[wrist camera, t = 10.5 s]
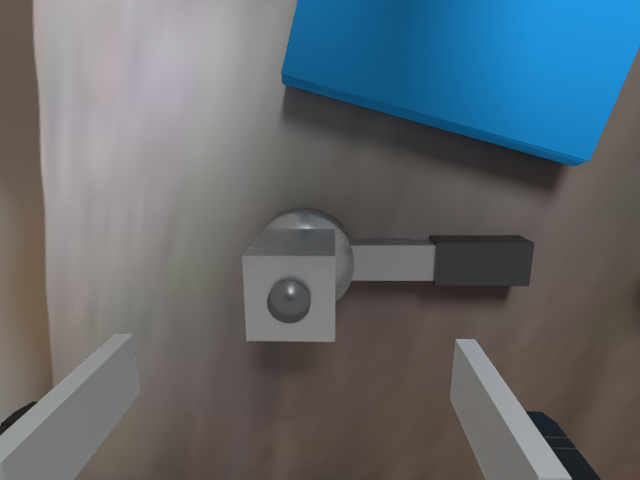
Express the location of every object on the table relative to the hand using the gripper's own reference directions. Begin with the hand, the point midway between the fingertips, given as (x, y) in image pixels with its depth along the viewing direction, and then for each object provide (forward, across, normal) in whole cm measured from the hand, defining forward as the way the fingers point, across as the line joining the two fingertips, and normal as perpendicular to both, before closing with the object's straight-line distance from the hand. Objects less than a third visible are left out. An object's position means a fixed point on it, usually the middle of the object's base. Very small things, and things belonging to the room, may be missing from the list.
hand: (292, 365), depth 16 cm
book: (+22, +12, +18) cm, 31 cm away
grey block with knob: (+18, -1, -1) cm, 18 cm away
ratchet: (+21, +6, -2) cm, 22 cm away
